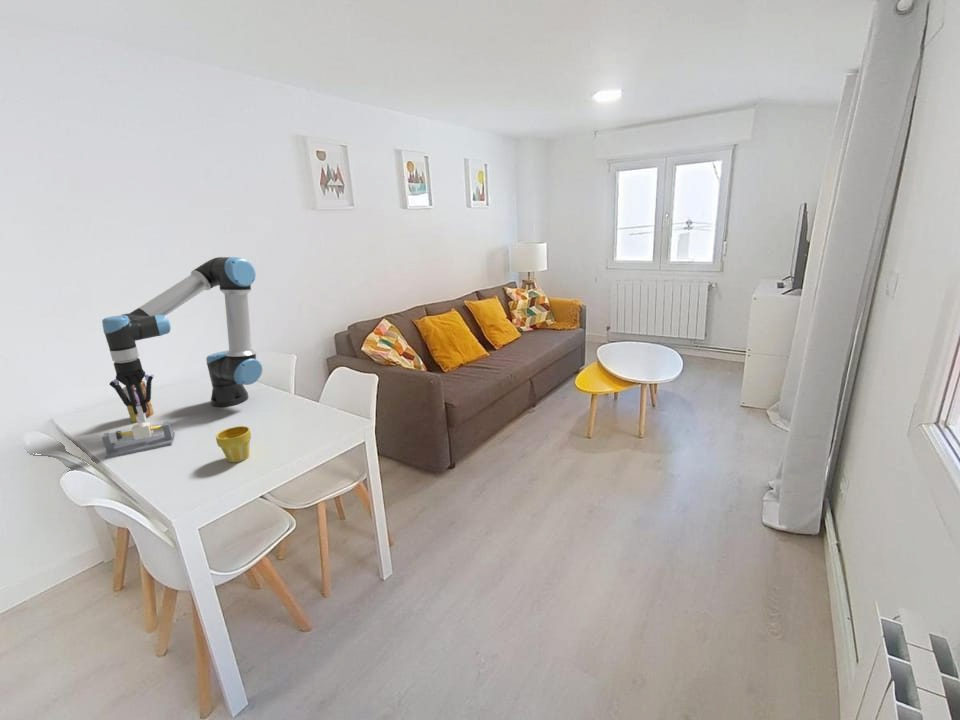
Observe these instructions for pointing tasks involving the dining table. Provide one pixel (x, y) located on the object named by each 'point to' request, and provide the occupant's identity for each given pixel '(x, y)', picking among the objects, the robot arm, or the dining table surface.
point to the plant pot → (235, 443)
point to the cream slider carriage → (141, 429)
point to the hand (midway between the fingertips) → (143, 421)
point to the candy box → (138, 402)
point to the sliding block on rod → (136, 441)
